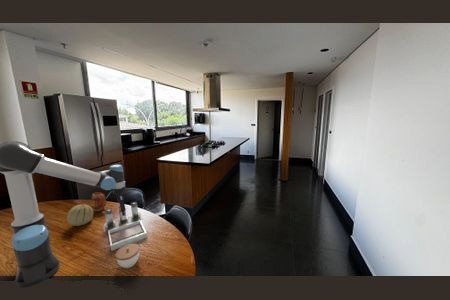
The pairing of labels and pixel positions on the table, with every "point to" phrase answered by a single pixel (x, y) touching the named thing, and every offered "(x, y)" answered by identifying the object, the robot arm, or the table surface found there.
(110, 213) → the fuse left
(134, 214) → the fuse right
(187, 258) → the table surface
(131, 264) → the lidded jar
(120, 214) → the marked fuse
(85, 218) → the cantaloupe
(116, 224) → the fuse holder
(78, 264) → the table surface
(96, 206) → the mug
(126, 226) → the tray
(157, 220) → the table surface
